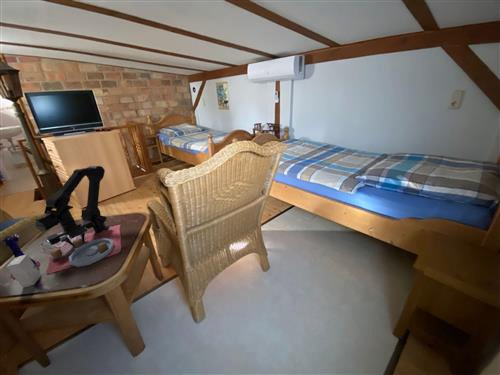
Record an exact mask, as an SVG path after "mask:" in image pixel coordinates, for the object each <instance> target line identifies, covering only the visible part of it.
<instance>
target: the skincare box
mask: <svg viewBox="0 0 500 375" xmlns="http://www.w3.org/2000/svg"><path fill="white" fill-rule="evenodd" d="M6 268H7V270H8V271H9V272H10V273H11V275H12V276H13V277H14V279H16V281H17V282H18V284H19V285H20V287H22V288H27V287H28V288H29V287H31V286H34V285H36V283H37V282H38V280H39V279H40V278H41V276H42V273H41V272H40V271H39V269H38V267H37V266H36V265H35V263H34V262H33V261H32V259H31V258H30V256H29V255H28V254H23V255H20V256H16V257H14V259H12V260H11V261H10V262H9V264H8V265H6Z"/></svg>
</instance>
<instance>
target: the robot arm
mask: <svg viewBox="0 0 500 375" xmlns="http://www.w3.org/2000/svg"><path fill="white" fill-rule="evenodd" d="M105 173H106V171H105V168H104V167H103V166H101V165H89V166H88V167H85V168H83V167H82V168H76V169H74V170H73V172H72V174H71V175H70V177H68V178H67V180H66V181H65V183H64V184H63V185H62V186H61V188H60V189H59V190H57V191H56V192H55V193H53V194H51V196H49V197H48V198H47V199H46V201H45V204H46V205H45V209H44V212H43V214H44V215H42V216H40V217H37V218H35V227H36V229H37V230H39V231H40V232H42V233H45V232H47V231H49V230H51V229H53V228H55V227H56V226H58V225H59V226H60V227H61V229H62V232H61V233H60V234H58V233H57V232H56V233H53V234H51V235H48V236H47V238H46V239H47V241H48V243H49V244H50V245H51V246H53V245H56V244H58V243H60V242H61V243H64V242H65V243H67V244H69V245H71V246H72V247H73V248H75V246H74V244H73V243H72V242H73V241H72V240H71V239H74V238H76V237H80V238H81V239H82V240H83V242H84V243H85V235H86V232H88V230H89V229H91V228H93V230H94V233H95V234H100V233H102V232H103V231H107V230H109V228H110V226H109V225H106V221H107V216H104V215H101V210H100V209H99V200H100V199H99V196H100V185H101V181H102V180H103V179H104V176H105ZM85 177H86V178H87V179H88V191H87V201H86V207H85V208H84V209H82V210H81V215H80V218H81V220H82V222H81V223H79V224H77V223H76V220H75V218H74V217H73V215H72V213H71V211H70V210H71V209H73V208H74V206H72V205H69V203H70V201H71V195H72V193H73V192H74V191H75V190H76V188H77V187H78V186H79V184H80V183H81V182H82V180H83V179H84V178H85Z"/></svg>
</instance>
